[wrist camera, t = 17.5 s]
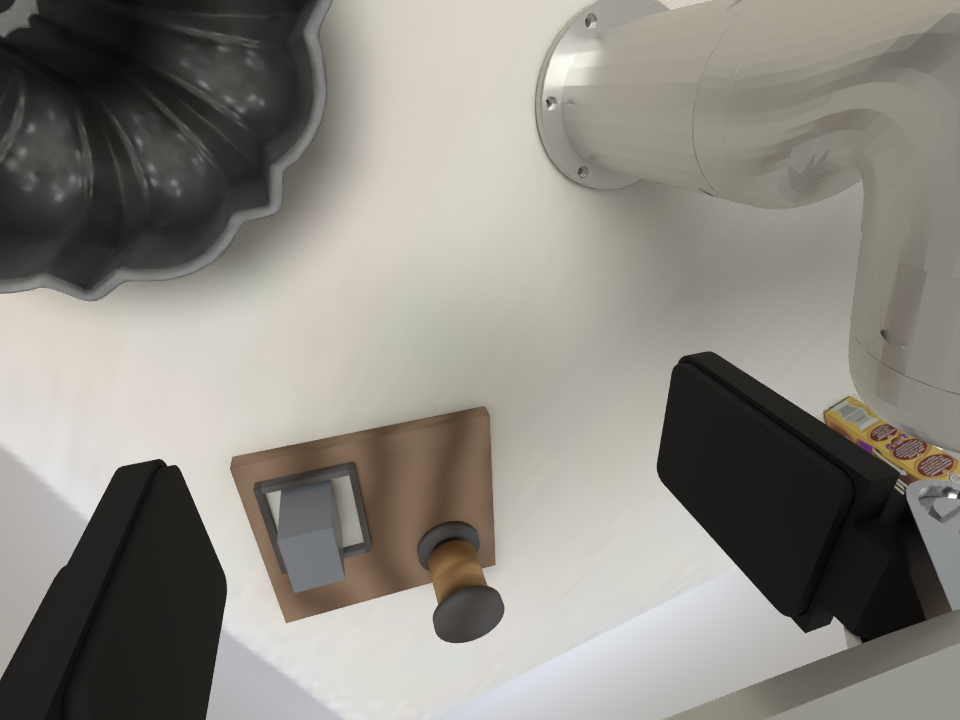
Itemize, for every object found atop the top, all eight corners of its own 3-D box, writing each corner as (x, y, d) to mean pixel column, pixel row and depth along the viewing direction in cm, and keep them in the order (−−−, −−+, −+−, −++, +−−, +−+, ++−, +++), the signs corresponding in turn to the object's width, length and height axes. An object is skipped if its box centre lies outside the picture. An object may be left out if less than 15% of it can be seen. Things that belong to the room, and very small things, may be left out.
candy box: (819, 413, 62) (953, 497, 49) (849, 394, 62) (990, 473, 49) (827, 456, 67) (951, 543, 54) (855, 438, 67) (985, 521, 54)
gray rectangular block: (329, 476, 43) (331, 527, 38) (341, 526, 46) (345, 579, 41) (281, 487, 43) (277, 540, 37) (296, 537, 45) (294, 593, 40)
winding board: (484, 406, 47) (523, 476, 38) (491, 554, 56) (523, 636, 48) (232, 457, 42) (212, 550, 33) (286, 610, 51) (281, 713, 43)
